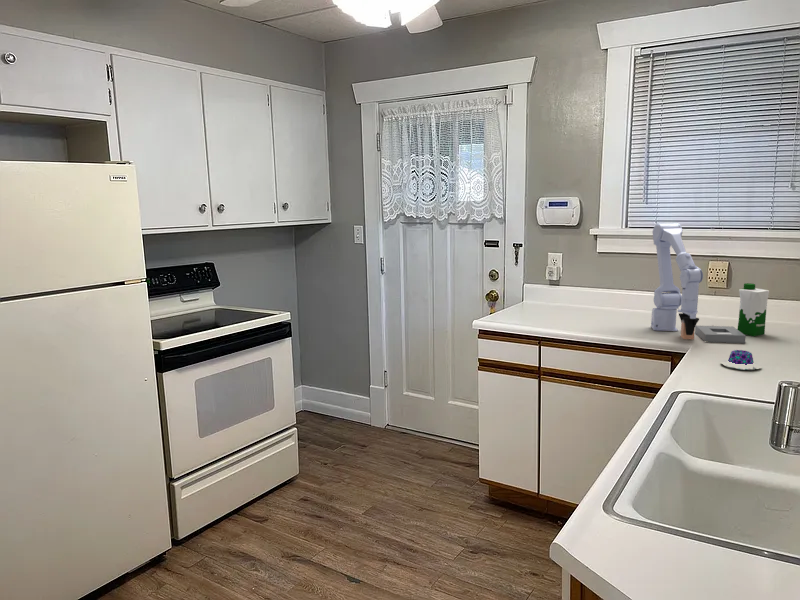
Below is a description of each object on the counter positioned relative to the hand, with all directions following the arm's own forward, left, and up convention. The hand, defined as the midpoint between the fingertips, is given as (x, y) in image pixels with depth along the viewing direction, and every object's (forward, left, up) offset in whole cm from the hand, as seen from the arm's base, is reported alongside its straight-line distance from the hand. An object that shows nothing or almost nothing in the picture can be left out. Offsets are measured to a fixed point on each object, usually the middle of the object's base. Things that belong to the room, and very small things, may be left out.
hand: (687, 333), depth 239 cm
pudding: (+8, -39, -2) cm, 40 cm away
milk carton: (+26, +11, -2) cm, 28 cm away
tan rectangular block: (0, 0, -2) cm, 2 cm away
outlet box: (+12, +2, -2) cm, 12 cm away
